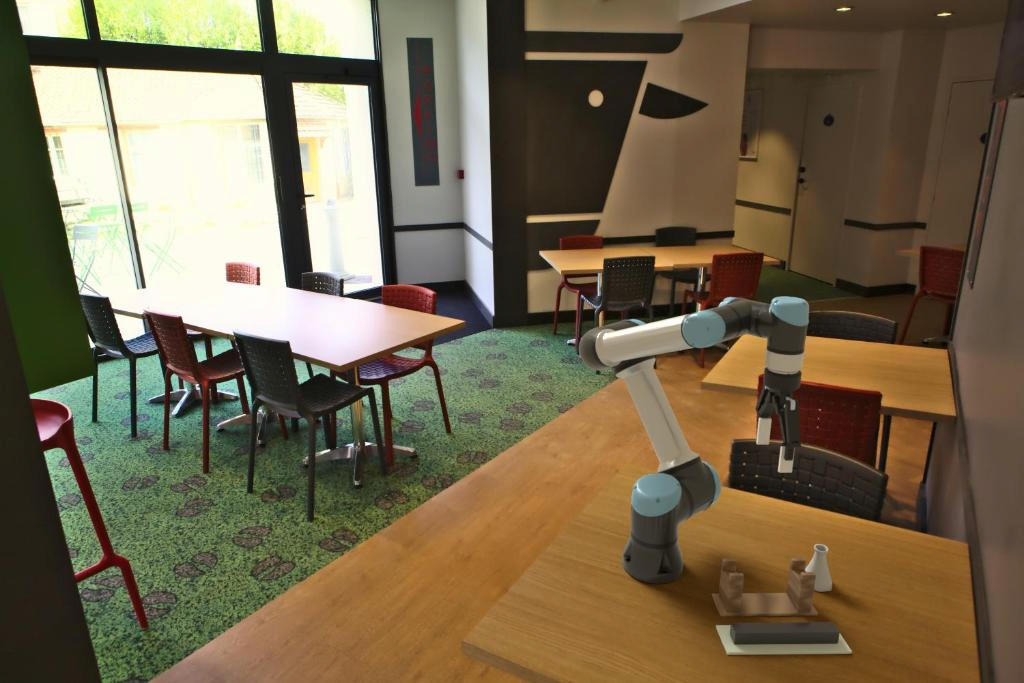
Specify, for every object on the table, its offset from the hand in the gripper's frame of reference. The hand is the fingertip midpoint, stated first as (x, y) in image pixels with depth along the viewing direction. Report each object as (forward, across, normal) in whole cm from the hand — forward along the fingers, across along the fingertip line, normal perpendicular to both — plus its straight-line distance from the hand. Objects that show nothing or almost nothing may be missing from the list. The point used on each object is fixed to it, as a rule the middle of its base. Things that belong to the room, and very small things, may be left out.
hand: (773, 457), depth 146 cm
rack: (+35, -7, +1) cm, 35 cm away
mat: (+35, -18, +1) cm, 39 cm away
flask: (+35, +1, -14) cm, 38 cm away
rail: (+34, -18, +1) cm, 39 cm away
